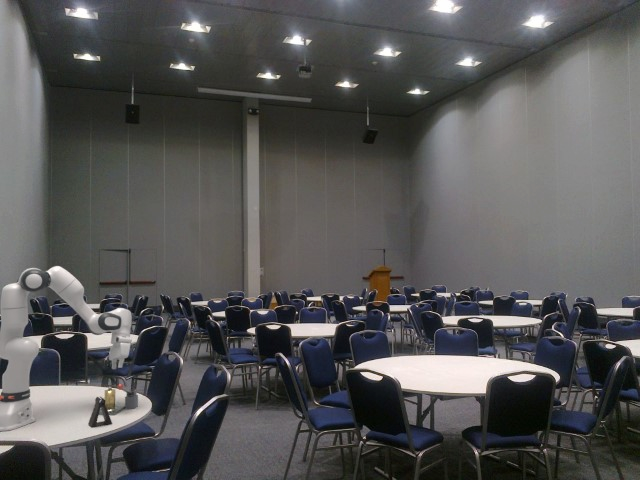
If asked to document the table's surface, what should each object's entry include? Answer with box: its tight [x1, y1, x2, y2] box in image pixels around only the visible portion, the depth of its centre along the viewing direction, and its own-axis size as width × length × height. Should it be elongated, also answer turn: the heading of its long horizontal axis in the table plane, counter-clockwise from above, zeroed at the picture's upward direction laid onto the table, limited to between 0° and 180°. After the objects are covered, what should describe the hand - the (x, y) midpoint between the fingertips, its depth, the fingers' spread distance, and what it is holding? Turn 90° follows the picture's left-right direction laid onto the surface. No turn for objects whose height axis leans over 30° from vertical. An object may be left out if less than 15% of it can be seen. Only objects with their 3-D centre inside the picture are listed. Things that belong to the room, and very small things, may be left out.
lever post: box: [124, 388, 139, 410], centre depth 283 cm, size 4×5×9 cm
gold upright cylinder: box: [104, 386, 116, 410], centre depth 276 cm, size 5×5×10 cm
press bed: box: [98, 405, 126, 416], centre depth 275 cm, size 12×10×1 cm
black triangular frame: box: [88, 396, 113, 429], centre depth 254 cm, size 9×6×12 cm, turn 125°
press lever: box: [117, 383, 134, 395], centre depth 276 cm, size 17×3×3 cm, turn 176°
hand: (116, 368), depth 279 cm, fingers open, 8 cm apart
